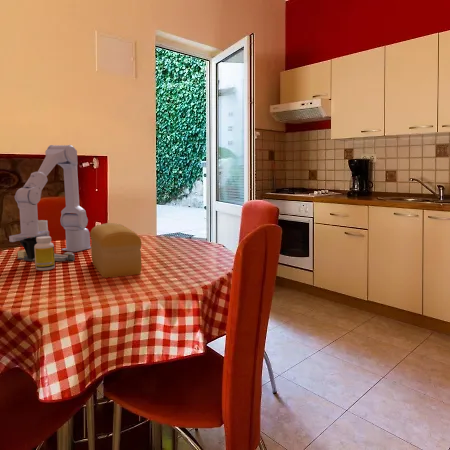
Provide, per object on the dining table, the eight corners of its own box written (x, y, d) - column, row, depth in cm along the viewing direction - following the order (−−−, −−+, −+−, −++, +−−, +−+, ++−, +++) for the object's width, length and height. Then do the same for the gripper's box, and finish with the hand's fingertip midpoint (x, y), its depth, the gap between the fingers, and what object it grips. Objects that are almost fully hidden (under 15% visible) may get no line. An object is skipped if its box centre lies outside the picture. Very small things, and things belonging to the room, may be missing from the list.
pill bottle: (58, 268, 137) (56, 237, 136) (39, 271, 133) (37, 239, 131) (50, 265, 142) (49, 235, 140) (32, 268, 137) (30, 237, 136)
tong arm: (28, 258, 150) (28, 251, 150) (73, 259, 149) (72, 252, 149) (24, 260, 148) (23, 252, 147) (69, 261, 146) (69, 253, 146)
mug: (45, 250, 167) (43, 222, 165) (28, 250, 166) (27, 222, 165) (54, 245, 177) (52, 219, 175) (38, 245, 176) (37, 219, 174)
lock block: (26, 255, 154) (25, 249, 154) (32, 256, 153) (31, 250, 152) (17, 257, 151) (17, 250, 151) (23, 258, 150) (23, 251, 149)
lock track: (26, 256, 155) (26, 256, 155) (40, 259, 151) (40, 258, 151) (17, 258, 151) (17, 257, 151) (31, 261, 147) (31, 260, 147)
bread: (90, 262, 147) (89, 222, 145) (125, 259, 153) (124, 220, 151) (102, 278, 126) (101, 232, 124) (142, 274, 132) (141, 229, 130)
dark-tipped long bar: (46, 254, 159) (45, 248, 158) (78, 260, 150) (78, 253, 150) (38, 256, 156) (38, 250, 155) (71, 261, 147) (70, 255, 147)
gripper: (39, 218, 150) (41, 253, 152) (2, 222, 137) (5, 261, 139) (52, 219, 147) (54, 255, 149) (15, 224, 134) (18, 263, 136)
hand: (31, 258), depth 144 cm, fingers closed
